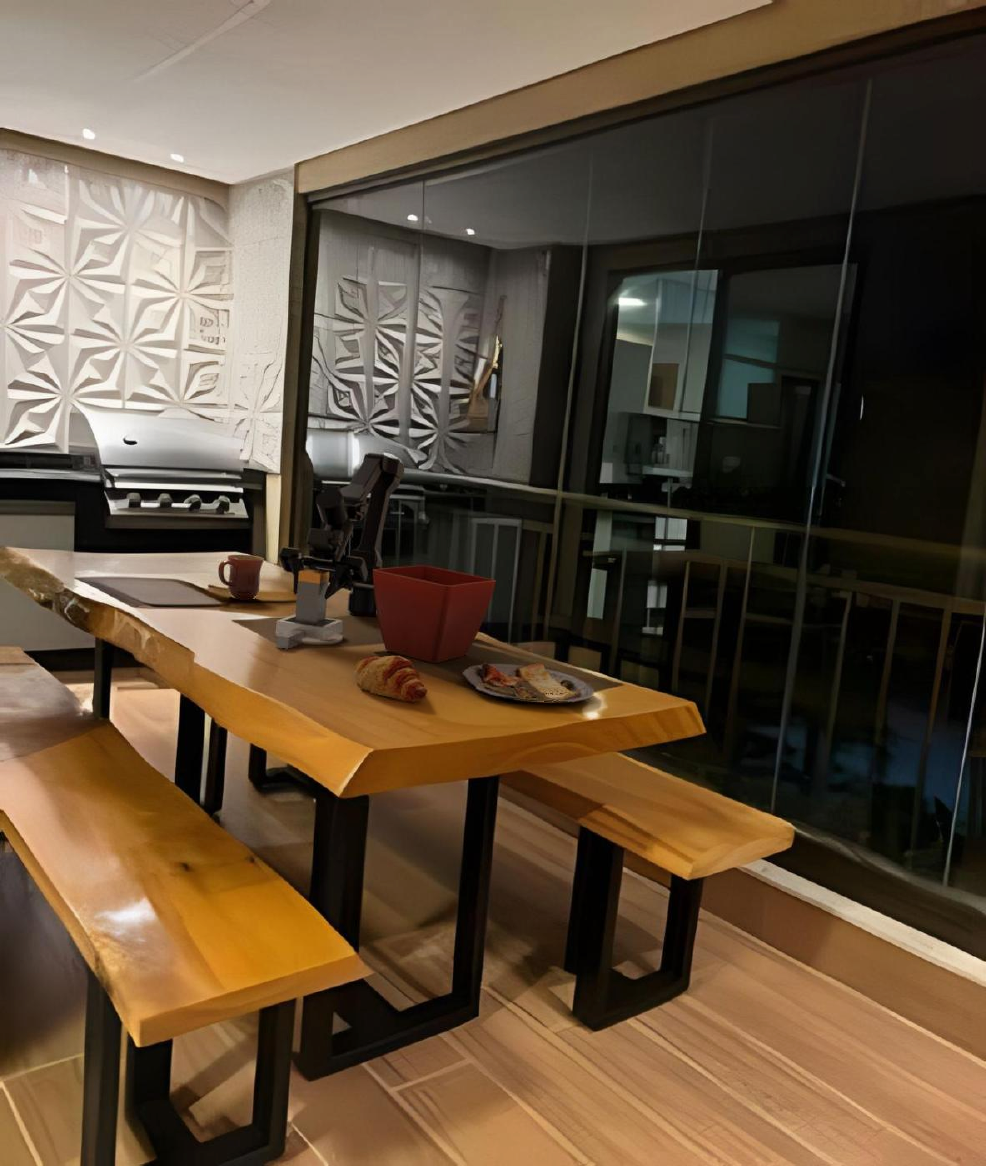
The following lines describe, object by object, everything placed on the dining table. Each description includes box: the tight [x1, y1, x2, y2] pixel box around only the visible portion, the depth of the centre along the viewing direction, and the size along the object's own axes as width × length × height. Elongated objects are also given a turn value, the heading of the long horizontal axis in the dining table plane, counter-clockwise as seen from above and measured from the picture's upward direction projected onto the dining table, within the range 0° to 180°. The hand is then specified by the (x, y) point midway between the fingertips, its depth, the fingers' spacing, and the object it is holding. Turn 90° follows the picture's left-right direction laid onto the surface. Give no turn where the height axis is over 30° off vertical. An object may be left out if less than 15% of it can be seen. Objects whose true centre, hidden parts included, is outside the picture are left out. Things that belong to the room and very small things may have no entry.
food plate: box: [462, 661, 595, 704], centre depth 182 cm, size 25×23×4 cm
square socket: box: [275, 613, 344, 650], centre depth 202 cm, size 20×14×4 cm
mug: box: [217, 554, 265, 602], centre depth 238 cm, size 12×9×10 cm
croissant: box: [353, 655, 428, 703], centre depth 171 cm, size 21×10×8 cm, turn 40°
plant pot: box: [373, 564, 497, 664], centre depth 202 cm, size 19×19×17 cm
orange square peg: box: [295, 568, 330, 627], centre depth 205 cm, size 5×5×13 cm
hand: (310, 595), depth 203 cm, fingers open, 7 cm apart
